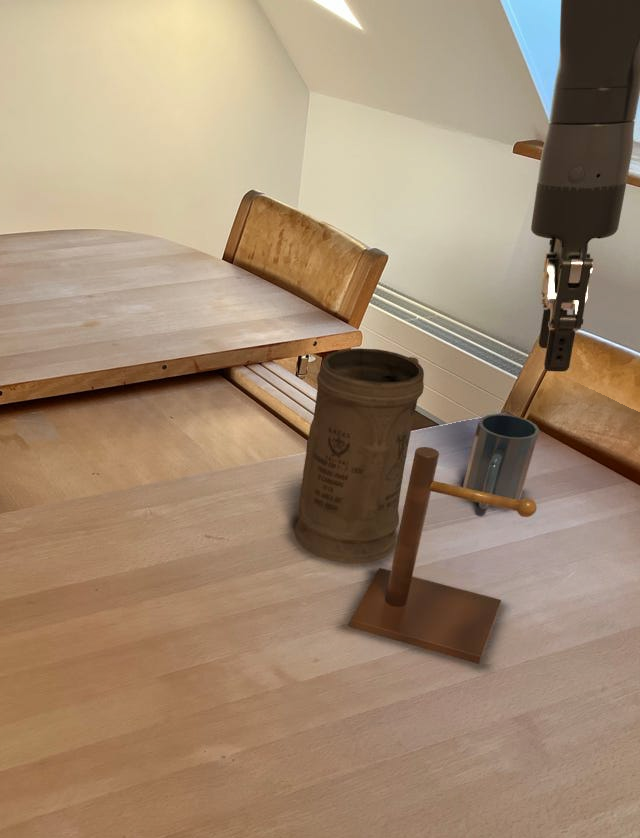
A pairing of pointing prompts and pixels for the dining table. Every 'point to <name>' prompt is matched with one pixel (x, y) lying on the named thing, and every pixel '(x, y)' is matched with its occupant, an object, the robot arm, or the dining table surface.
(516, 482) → the mug
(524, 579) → the dining table surface
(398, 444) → the beer stein
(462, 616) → the mug stand
